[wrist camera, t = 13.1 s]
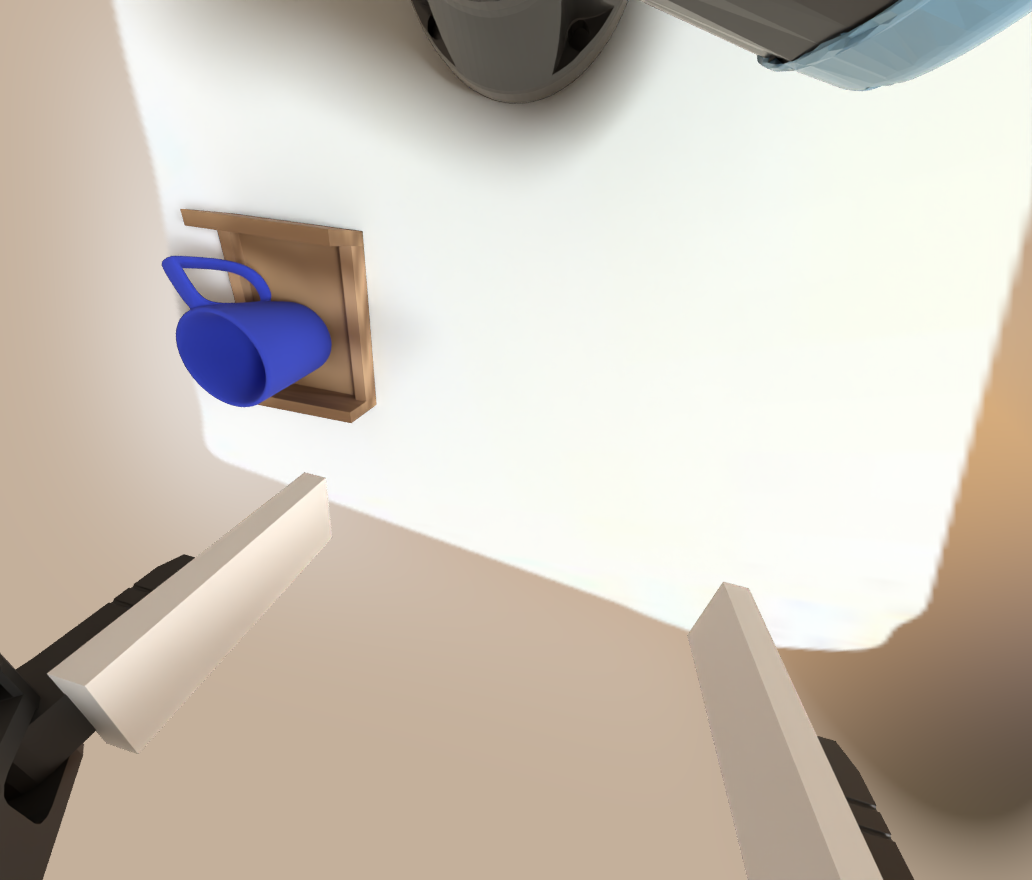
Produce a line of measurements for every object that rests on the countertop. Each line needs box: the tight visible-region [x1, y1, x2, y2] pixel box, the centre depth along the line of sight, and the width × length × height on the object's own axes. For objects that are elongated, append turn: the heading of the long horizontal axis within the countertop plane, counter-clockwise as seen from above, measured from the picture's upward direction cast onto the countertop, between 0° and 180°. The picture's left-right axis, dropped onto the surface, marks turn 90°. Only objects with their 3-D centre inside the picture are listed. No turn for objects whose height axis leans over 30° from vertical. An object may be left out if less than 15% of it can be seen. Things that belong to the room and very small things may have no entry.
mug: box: [162, 256, 332, 407], centre depth 33 cm, size 8×12×10 cm
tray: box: [180, 209, 376, 423], centre depth 36 cm, size 17×13×5 cm
